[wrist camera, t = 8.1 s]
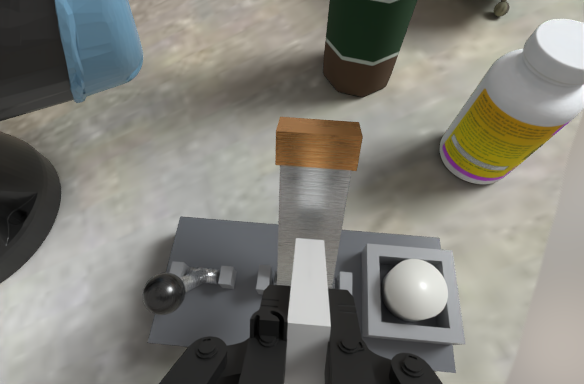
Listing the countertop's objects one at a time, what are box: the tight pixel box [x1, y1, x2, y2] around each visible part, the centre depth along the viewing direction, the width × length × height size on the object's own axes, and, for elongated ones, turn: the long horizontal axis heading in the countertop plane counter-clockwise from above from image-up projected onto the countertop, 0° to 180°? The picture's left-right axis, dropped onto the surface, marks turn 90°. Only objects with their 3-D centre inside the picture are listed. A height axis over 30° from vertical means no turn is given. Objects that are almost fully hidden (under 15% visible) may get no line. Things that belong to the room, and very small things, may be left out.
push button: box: [381, 259, 448, 322], centre depth 21 cm, size 4×4×2 cm
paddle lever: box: [274, 117, 363, 289], centre depth 19 cm, size 2×4×12 cm, turn 86°
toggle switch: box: [142, 267, 220, 315], centre depth 19 cm, size 2×2×8 cm
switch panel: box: [148, 217, 465, 373], centre depth 23 cm, size 9×20×5 cm, turn 85°
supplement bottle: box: [440, 19, 584, 184], centre depth 26 cm, size 7×7×13 cm
